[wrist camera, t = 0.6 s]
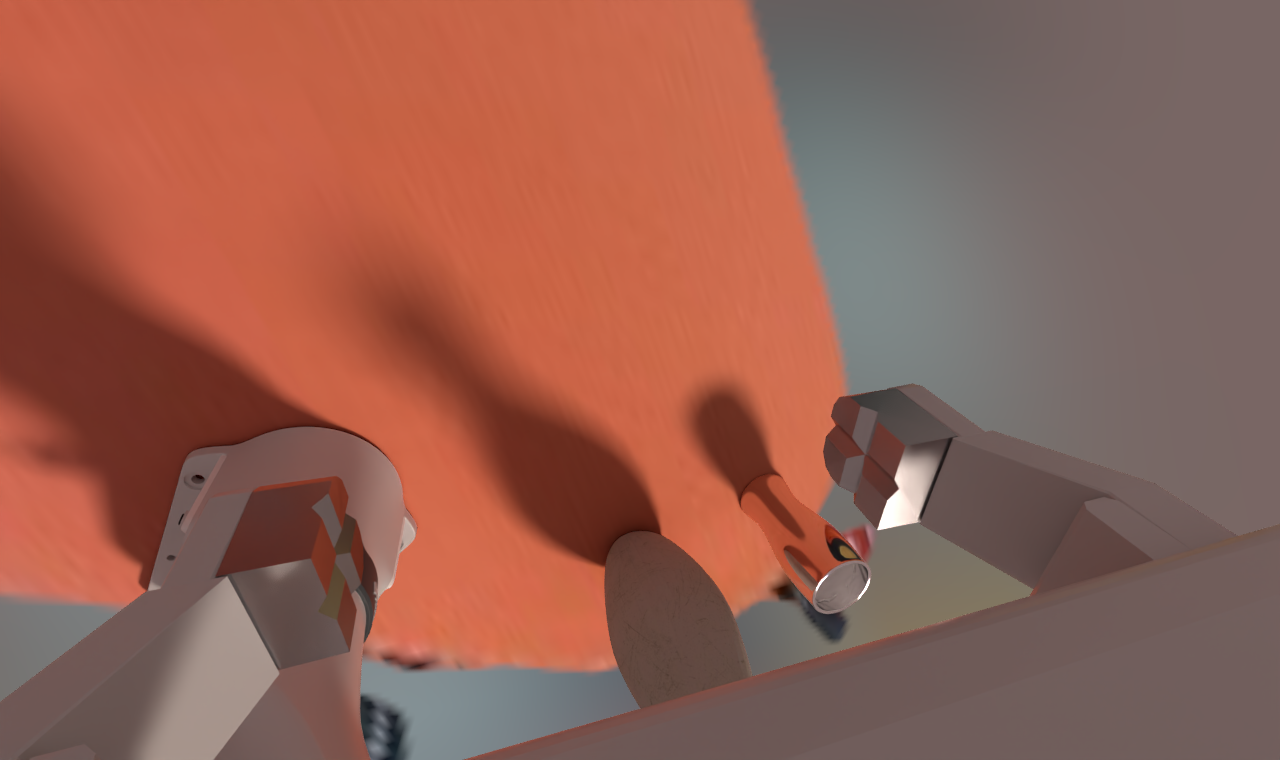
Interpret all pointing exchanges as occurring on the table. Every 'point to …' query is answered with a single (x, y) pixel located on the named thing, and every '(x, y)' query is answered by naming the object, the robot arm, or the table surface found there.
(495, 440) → the table surface
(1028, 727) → the robot arm
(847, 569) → the beer glass
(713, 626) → the bowling pin
